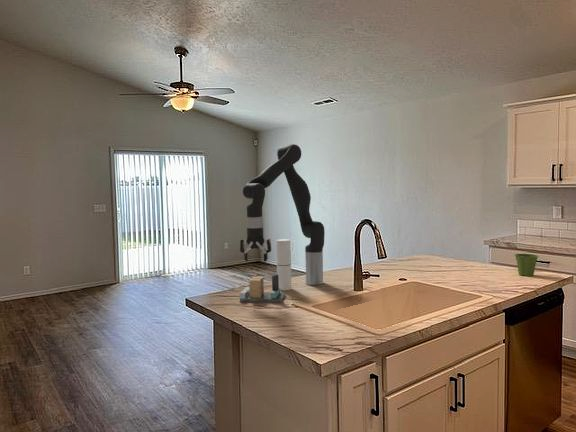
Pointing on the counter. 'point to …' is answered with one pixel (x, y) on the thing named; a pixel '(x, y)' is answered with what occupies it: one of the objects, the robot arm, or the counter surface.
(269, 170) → the robot arm
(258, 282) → the block
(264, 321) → the counter surface
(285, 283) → the cylindrical container
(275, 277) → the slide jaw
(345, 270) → the counter surface
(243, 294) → the vise
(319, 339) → the counter surface
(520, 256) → the plant pot
